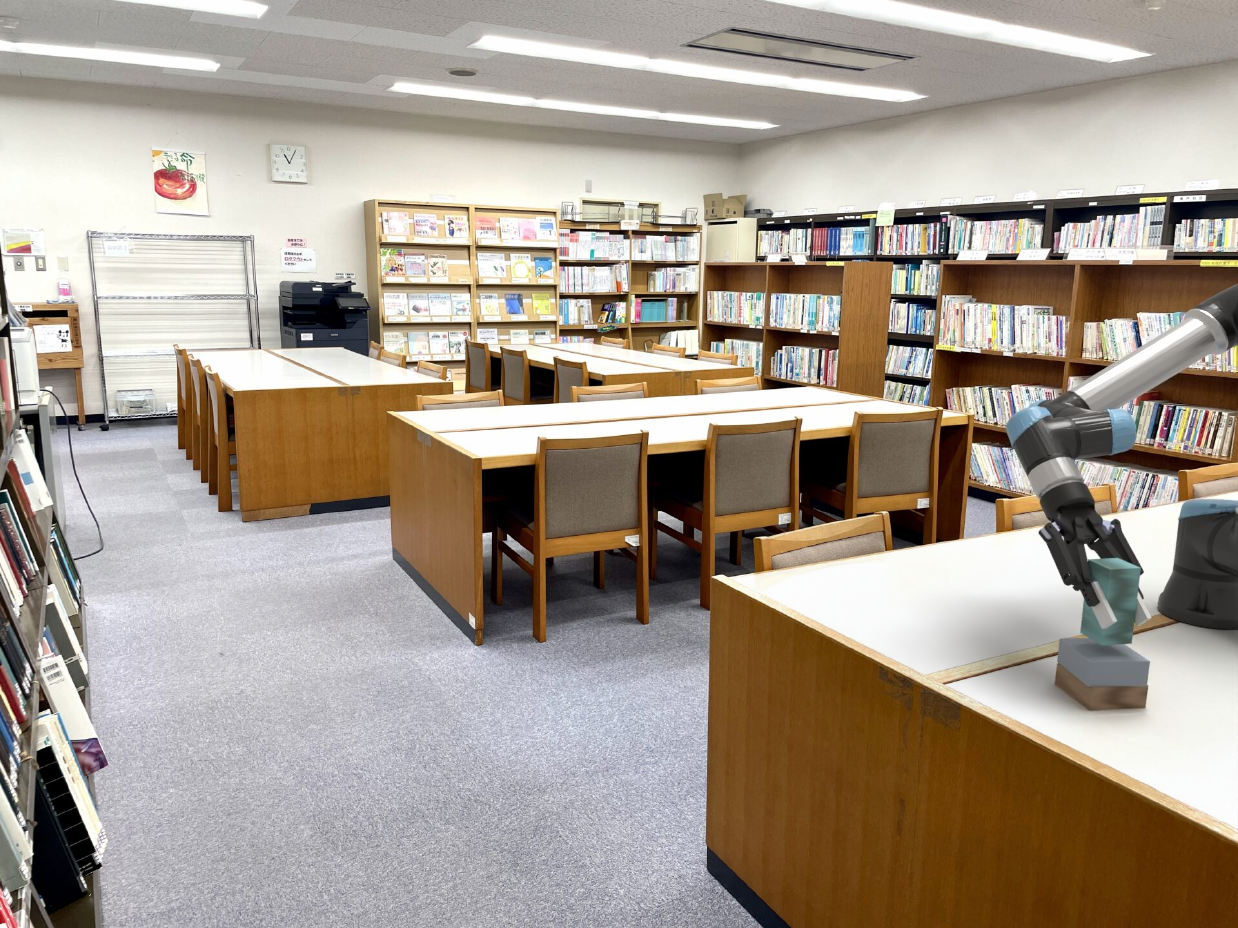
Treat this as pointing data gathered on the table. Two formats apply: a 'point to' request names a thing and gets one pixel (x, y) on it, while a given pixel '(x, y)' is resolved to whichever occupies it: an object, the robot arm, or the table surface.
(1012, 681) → the table surface
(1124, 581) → the tall block
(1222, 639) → the table surface
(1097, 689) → the tower bottom
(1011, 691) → the table surface
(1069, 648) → the tower top
